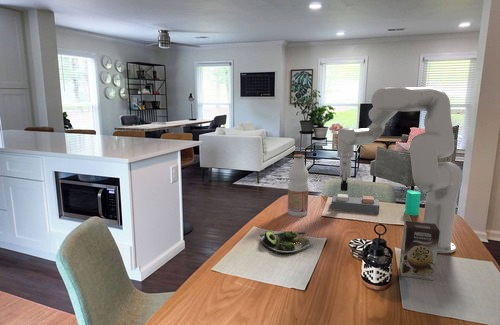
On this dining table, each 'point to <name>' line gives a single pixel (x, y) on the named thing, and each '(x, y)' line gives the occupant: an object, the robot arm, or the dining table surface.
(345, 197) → the key offwhite
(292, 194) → the fruit juice
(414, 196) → the candle
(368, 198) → the key terracotta
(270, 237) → the salad plate
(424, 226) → the coffee box
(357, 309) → the dining table surface
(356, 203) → the block
